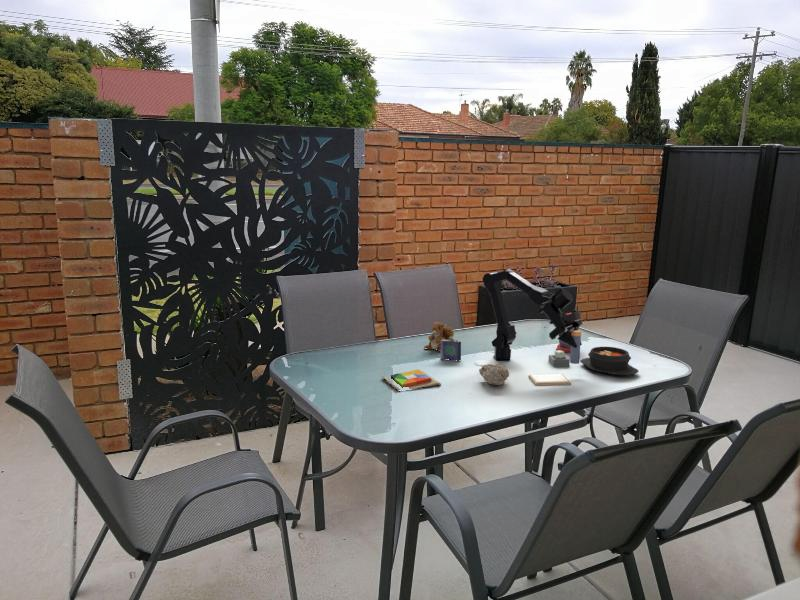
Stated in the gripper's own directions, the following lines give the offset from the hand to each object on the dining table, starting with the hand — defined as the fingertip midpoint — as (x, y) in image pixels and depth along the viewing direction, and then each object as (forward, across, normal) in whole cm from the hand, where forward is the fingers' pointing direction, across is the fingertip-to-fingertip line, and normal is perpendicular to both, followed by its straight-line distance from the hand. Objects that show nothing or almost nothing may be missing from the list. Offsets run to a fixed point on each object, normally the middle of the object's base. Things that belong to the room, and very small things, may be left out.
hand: (578, 346), depth 241 cm
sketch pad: (+5, -13, +13) cm, 19 cm away
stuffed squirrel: (-38, -5, +57) cm, 69 cm away
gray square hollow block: (-1, +10, +19) cm, 21 cm away
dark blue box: (-28, -16, +46) cm, 56 cm away
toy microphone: (+4, 0, +6) cm, 7 cm away
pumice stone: (-4, -31, +23) cm, 39 cm away
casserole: (+13, +16, +5) cm, 22 cm away
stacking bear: (-6, +33, +24) cm, 41 cm away
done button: (-2, +10, +18) cm, 20 cm away
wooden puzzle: (-22, -51, +41) cm, 69 cm away
